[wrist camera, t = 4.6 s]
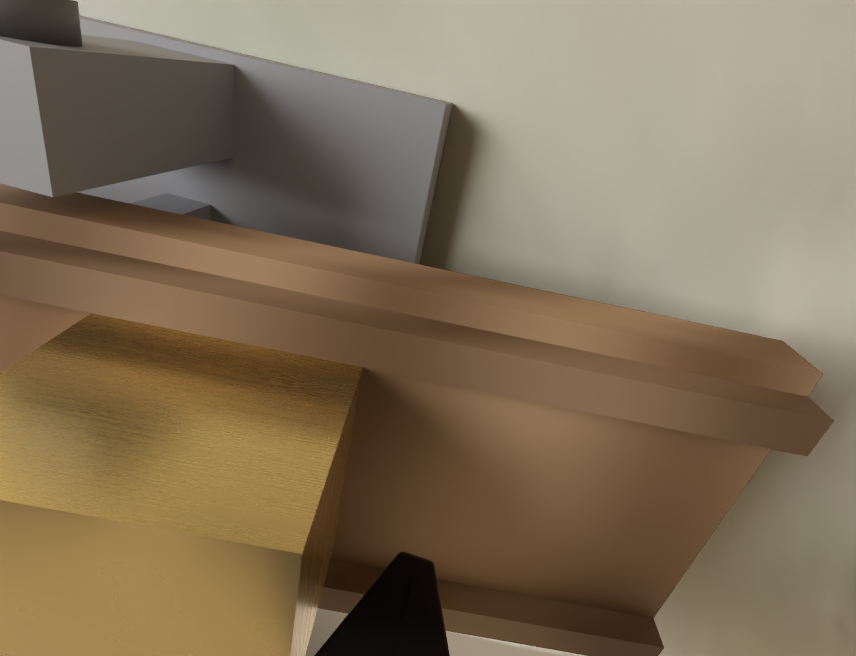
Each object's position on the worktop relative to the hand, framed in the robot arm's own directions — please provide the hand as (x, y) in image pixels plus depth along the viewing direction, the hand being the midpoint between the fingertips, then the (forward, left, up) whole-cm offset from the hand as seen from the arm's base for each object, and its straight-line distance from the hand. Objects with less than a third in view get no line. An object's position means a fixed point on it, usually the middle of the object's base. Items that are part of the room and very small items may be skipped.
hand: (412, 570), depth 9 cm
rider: (+4, 0, -2) cm, 5 cm away
